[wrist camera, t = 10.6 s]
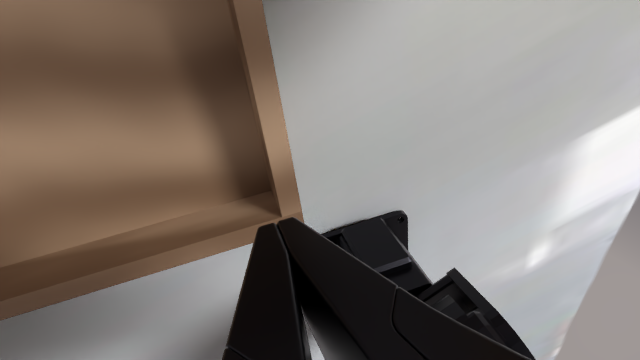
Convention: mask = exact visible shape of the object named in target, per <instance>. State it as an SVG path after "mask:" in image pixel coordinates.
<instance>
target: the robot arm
mask: <svg viewBox="0 0 640 360" xmlns="http://www.w3.org/2000/svg"><path fill="white" fill-rule="evenodd" d="M400 217H401V218H400ZM399 218H400V219H399ZM446 274H447V275H446V276H444V277H443V278H442V279H440V280H439V281H437V282H436V283H434V284H433V283H432V282H431V281H430V279H429V278H428V277H427V275H426V274H425V273H424V271H423V270H422V269H421V267H420V266H419V265H418V263H417V262H416V261H415V260H414V258H413V257H412V256H411V254H410V253H409V252H408V217H407V215H406V214H405V213H404V212H403V211H401V210H400V211H395V212H392V213H389V214H386V215H383V216H379V217H376V218H373V219H370V220H367V221H364V222H360V223H357V224H354V225H351V226H348V227H344V228H341V229H338V230H335V231H332V232H329V233H325V234H322V235H321V234H319V233H318V232H316V231H315V230H313V229H312V228H310V227H309V226H307V225H306V224H304V223H303V222H301V221H300V220H298V219H297V218H295V217H290V218H287V219H283V220H280V221H278V222H277V224H276V223H270V224H267V225H263V226H260V227H259V228H258V229H257V232H256V236H255V239H254V243H253V247H252V251H251V254H250V258H249V262H248V265H247V269H246V273H245V276H244V280H243V284H242V288H241V291H240V295H239V299H238V302H237V306H236V310H235V313H234V317H233V321H232V325H231V328H230V332H229V336H228V339H227V343H226V349H225V350H224V353H223V357H222V360H312V358H311V353H310V347H309V342H308V337H307V332H306V326H305V322H304V317H303V314H304V316H305V318H306V321H307V323H308V325H309V327H310V329H311V331H312V333H313V336H314V338H315V340H316V342H317V344H318V346H319V348H320V350H321V352H322V354H323V356H324V358H325V360H535V358H534V357H533V355H532V354H531V352H530V351H529V349H528V348H527V347H526V345H525V344H524V343H523V341H522V340H521V339H520V337H519V336H518V335H517V334H516V332H515V331H514V330H513V329H512V327H511V326H510V325H509V324H508V323H507V321H506V320H505V319H504V318H503V317H502V316H501V315H500V313H499V312H498V311H497V310H496V309H495V308H494V307H493V306H492V305H491V304H490V303H489V302H488V301H487V300H486V299H485V298H484V297H483V296H482V295H481V294H480V293H479V292H478V291H477V290H476V289H475V288H474V287H473V286H472V285H471V284H470V283H469V282H468V281H467V280H466V279H465V278H464V277H463V276H462V275H461V274H460V273H459V272H458V271H457V270H456V269H455V268H453V269H452V270H450V271H449V272H447V273H446ZM302 311H303V313H302Z"/></svg>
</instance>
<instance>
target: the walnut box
mask: <svg viewBox="0 0 640 360" xmlns="http://www.w3.org/2000/svg"><path fill="white" fill-rule="evenodd" d="M290 217H295V218H297V219H298V220H300V221H301V222H303V223H304V220H303V214H302V209H301V204H300V199H299V193H298V188H297V183H296V178H295V172H294V167H293V162H292V157H291V151H290V146H289V141H288V136H287V130H286V125H285V120H284V115H283V109H282V104H281V99H280V94H279V88H278V83H277V78H276V73H275V67H274V62H273V57H272V51H271V46H270V41H269V36H268V30H267V25H266V20H265V15H264V9H263V4H262V0H0V320H4V319H7V318H10V317H13V316H17V315H20V314H23V313H26V312H30V311H33V310H36V309H39V308H43V307H46V306H49V305H52V304H56V303H59V302H62V301H65V300H69V299H72V298H75V297H78V296H82V295H85V294H88V293H91V292H95V291H98V290H101V289H104V288H108V287H111V286H114V285H117V284H121V283H124V282H127V281H130V280H134V279H137V278H140V277H143V276H147V275H150V274H153V273H156V272H160V271H163V270H166V269H169V268H173V267H176V266H179V265H182V264H186V263H189V262H192V261H195V260H199V259H202V258H205V257H208V256H212V255H215V254H218V253H221V252H225V251H228V250H231V249H234V248H238V247H241V246H244V245H247V244H251V243H254V239H255V236H256V232H257V229H258V228H259V227H260V226H263V225H267V224H270V223H276V224H277V222H278V221H280V220H283V219H287V218H290Z"/></svg>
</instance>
